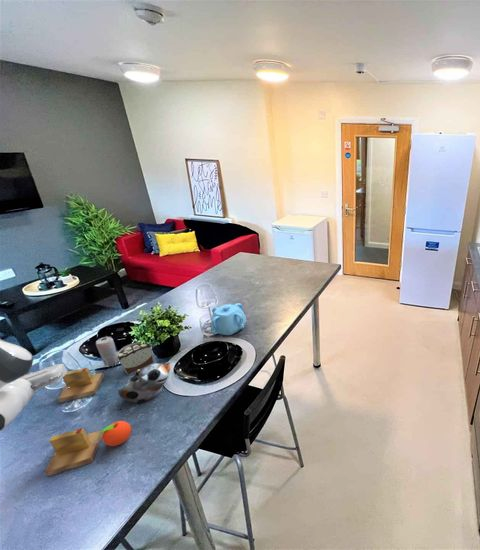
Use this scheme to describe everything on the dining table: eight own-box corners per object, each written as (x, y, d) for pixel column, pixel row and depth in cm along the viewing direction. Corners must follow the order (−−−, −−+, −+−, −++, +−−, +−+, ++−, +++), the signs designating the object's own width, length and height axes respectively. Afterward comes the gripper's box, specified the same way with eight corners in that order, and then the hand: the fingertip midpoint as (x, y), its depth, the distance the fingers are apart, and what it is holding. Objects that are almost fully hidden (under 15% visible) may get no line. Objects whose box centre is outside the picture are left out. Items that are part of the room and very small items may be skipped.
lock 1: (58, 456, 85) (49, 440, 82) (60, 451, 86) (51, 435, 83) (89, 447, 88) (80, 432, 85) (90, 442, 89) (83, 427, 86)
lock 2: (68, 389, 107) (60, 375, 104) (69, 386, 108) (62, 372, 106) (92, 383, 110) (85, 370, 107) (93, 380, 111) (87, 367, 108)
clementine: (100, 457, 87) (91, 441, 84) (104, 438, 92) (96, 423, 89) (133, 444, 91) (126, 429, 88) (135, 427, 96) (128, 412, 93)
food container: (152, 355, 128) (145, 337, 124) (157, 361, 125) (151, 342, 121) (117, 370, 119) (110, 351, 115) (123, 377, 116) (115, 357, 112)
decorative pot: (245, 336, 144) (242, 312, 138) (210, 340, 139) (205, 316, 134) (247, 318, 158) (244, 296, 152) (215, 322, 153) (211, 300, 148)
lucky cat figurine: (146, 375, 117) (158, 347, 115) (170, 390, 117) (183, 362, 114) (109, 395, 102) (122, 363, 100) (137, 412, 102) (151, 381, 100)
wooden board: (44, 477, 81) (41, 472, 80) (60, 446, 90) (57, 441, 89) (95, 461, 86) (92, 456, 85) (106, 433, 94) (103, 428, 93)
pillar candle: (120, 357, 126) (111, 334, 122) (122, 363, 123) (113, 340, 118) (104, 362, 123) (94, 339, 118) (105, 369, 120) (95, 345, 115)
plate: (57, 403, 104) (55, 398, 103) (69, 383, 112) (67, 379, 111) (97, 393, 108) (95, 389, 107) (105, 375, 116) (104, 371, 115)
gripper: (54, 368, 84) (66, 352, 96) (-55, 406, 74) (-27, 384, 85) (64, 386, 86) (75, 369, 97) (-41, 426, 75) (-15, 401, 86)
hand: (27, 376), depth 91 cm, fingers closed
